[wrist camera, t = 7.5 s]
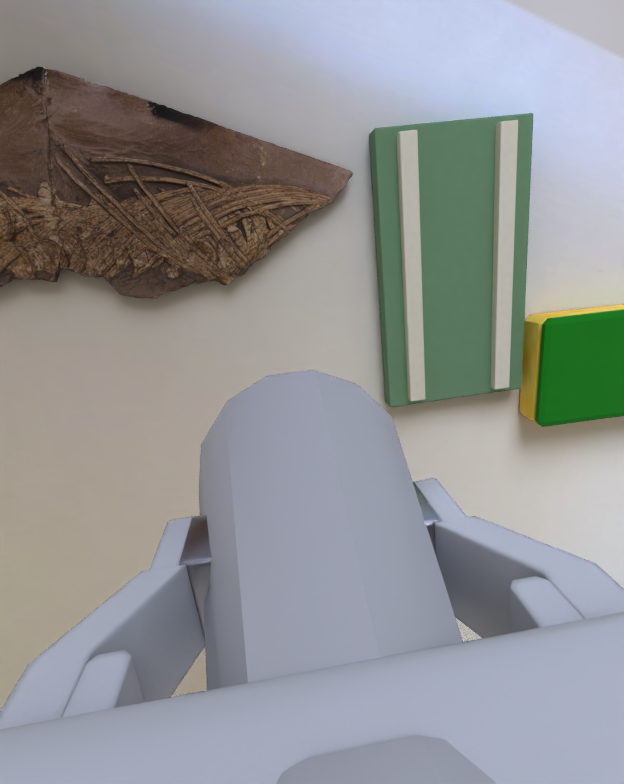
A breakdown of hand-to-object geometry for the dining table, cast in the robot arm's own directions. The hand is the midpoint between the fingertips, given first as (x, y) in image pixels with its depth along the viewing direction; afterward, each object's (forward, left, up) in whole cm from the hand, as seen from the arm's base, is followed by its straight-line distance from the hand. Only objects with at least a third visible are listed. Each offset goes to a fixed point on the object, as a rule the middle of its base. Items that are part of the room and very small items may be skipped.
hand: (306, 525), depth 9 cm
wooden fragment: (-10, -8, -18) cm, 22 cm away
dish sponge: (+3, +23, -18) cm, 30 cm away
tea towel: (-4, +11, -18) cm, 22 cm away
